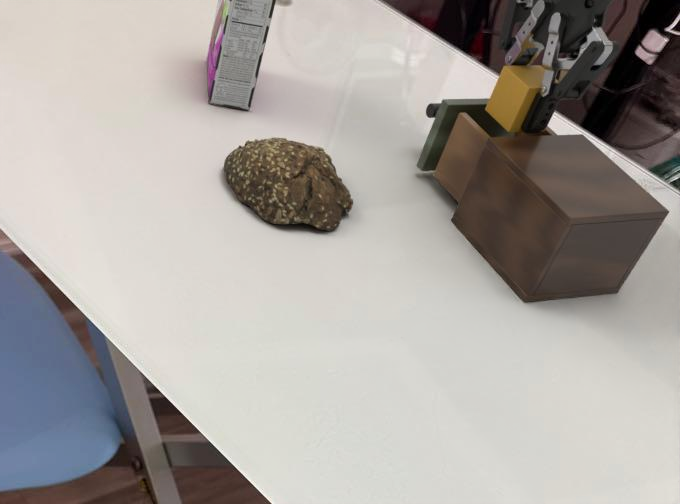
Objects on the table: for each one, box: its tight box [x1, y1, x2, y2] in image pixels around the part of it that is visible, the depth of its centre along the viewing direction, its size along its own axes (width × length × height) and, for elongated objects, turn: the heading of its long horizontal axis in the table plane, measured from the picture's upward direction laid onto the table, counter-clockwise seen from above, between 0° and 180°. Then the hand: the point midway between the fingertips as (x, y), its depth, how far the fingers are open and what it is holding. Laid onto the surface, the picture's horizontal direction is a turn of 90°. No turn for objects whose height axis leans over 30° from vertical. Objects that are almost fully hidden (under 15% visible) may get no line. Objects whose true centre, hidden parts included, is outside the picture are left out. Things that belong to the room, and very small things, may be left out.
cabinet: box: [450, 133, 670, 303], centre depth 94 cm, size 13×11×9 cm
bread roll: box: [222, 137, 354, 231], centre depth 95 cm, size 13×12×5 cm
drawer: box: [415, 97, 558, 204], centre depth 100 cm, size 17×10×7 cm, turn 20°
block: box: [485, 64, 559, 133], centre depth 95 cm, size 4×4×4 cm
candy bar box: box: [206, 0, 277, 111], centre depth 104 cm, size 11×5×16 cm, turn 179°
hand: (516, 117), depth 96 cm, fingers closed on block, 4 cm apart
